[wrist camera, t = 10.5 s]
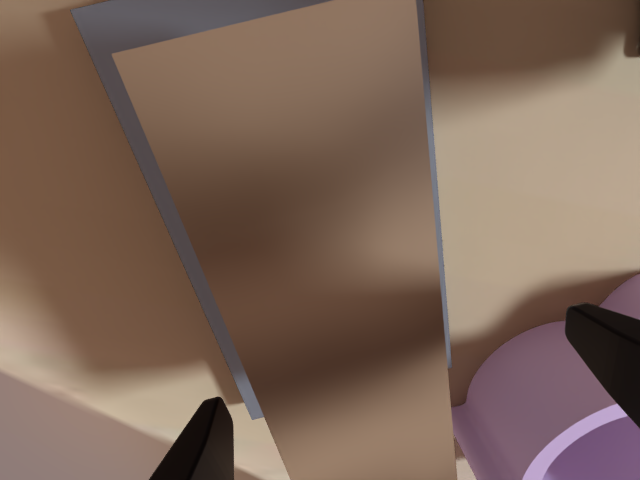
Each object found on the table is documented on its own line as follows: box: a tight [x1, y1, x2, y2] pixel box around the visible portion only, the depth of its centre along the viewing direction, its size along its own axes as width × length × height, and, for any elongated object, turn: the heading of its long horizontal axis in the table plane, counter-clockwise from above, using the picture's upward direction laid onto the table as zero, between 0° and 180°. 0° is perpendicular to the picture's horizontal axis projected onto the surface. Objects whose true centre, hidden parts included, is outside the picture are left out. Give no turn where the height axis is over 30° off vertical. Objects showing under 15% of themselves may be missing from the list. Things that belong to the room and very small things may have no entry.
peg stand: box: [70, 0, 452, 420], centre depth 18 cm, size 14×24×6 cm, turn 12°
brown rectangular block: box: [112, 0, 457, 480], centre depth 12 cm, size 18×6×5 cm, turn 12°
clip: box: [451, 273, 640, 480], centre depth 25 cm, size 20×12×7 cm, turn 133°
